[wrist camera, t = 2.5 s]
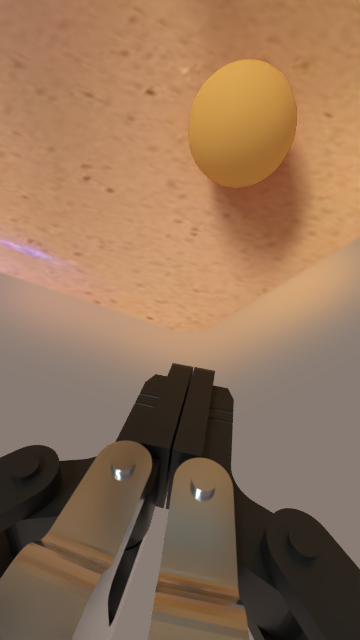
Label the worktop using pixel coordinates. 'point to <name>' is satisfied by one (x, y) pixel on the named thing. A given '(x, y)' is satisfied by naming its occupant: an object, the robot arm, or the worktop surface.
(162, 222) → the worktop surface
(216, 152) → the ball
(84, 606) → the robot arm
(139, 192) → the worktop surface
